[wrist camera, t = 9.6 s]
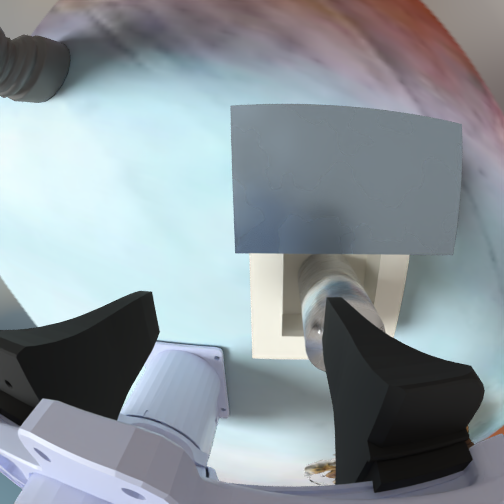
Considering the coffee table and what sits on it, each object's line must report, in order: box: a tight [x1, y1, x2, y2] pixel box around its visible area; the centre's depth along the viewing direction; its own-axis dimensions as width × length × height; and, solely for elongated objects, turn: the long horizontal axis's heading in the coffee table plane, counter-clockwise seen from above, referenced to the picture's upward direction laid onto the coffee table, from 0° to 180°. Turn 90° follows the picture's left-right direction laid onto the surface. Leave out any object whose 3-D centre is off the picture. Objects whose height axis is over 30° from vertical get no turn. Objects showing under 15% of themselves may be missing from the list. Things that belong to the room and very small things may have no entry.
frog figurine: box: [304, 454, 336, 485], centre depth 29 cm, size 12×12×4 cm
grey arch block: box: [231, 104, 462, 255], centre depth 15 cm, size 6×10×9 cm, turn 91°
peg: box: [297, 254, 386, 372], centre depth 17 cm, size 4×4×8 cm
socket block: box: [249, 253, 410, 359], centre depth 20 cm, size 10×10×4 cm
